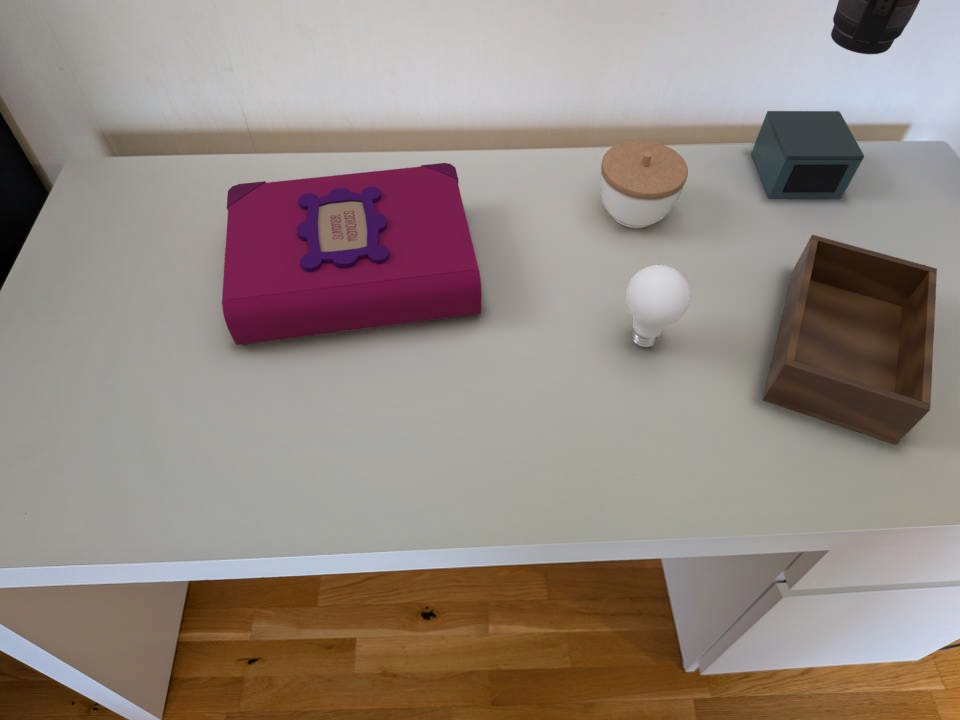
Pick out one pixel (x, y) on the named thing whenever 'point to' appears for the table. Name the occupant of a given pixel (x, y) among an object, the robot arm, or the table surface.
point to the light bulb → (655, 302)
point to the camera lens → (848, 20)
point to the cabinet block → (806, 155)
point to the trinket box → (641, 182)
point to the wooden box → (856, 340)
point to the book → (347, 253)
